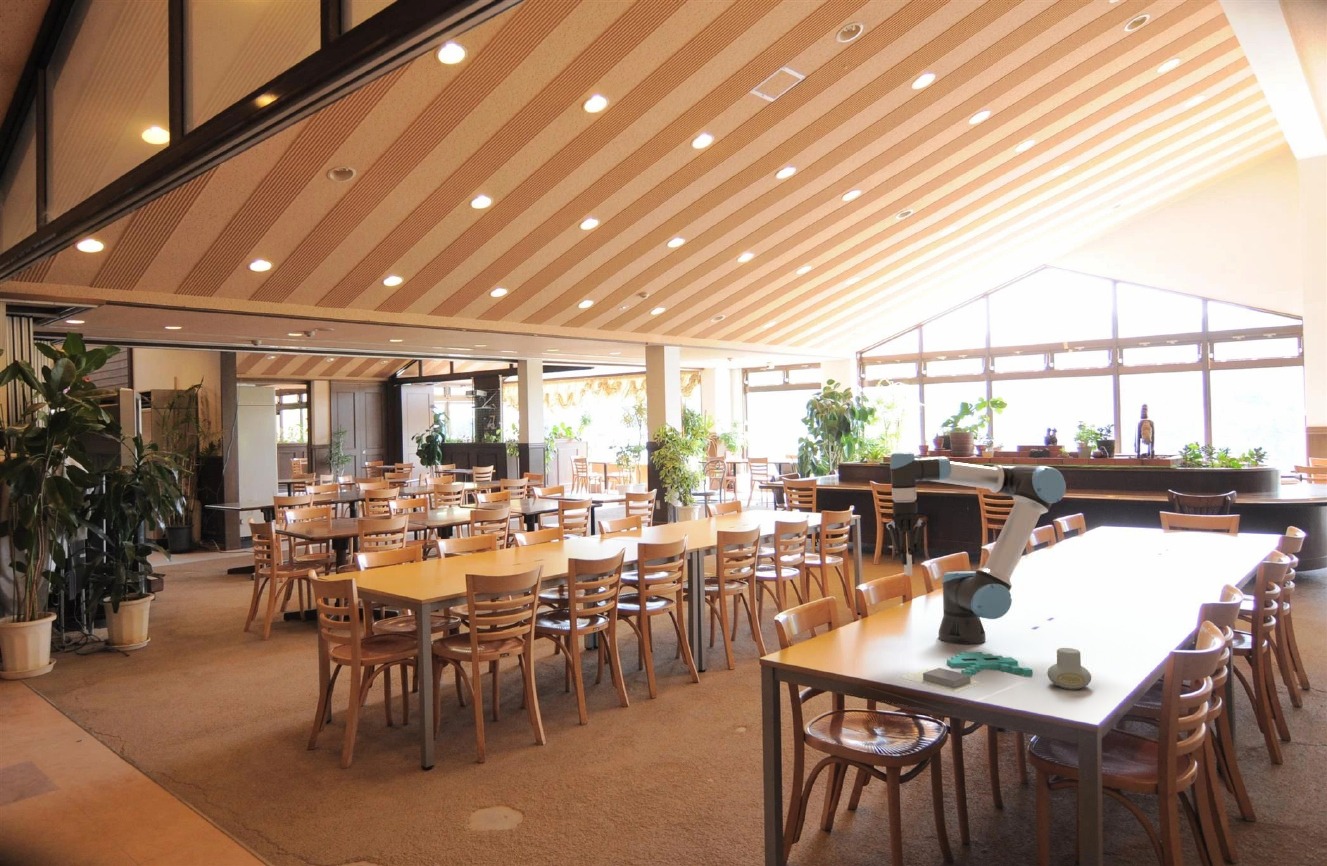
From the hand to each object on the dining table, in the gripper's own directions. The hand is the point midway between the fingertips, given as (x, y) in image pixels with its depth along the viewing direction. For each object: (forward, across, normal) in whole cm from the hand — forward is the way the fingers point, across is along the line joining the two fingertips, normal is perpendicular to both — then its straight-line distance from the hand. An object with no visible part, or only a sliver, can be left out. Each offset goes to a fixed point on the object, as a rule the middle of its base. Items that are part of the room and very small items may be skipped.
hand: (908, 574), depth 262 cm
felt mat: (+26, +4, +28) cm, 38 cm away
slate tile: (+24, +6, +25) cm, 35 cm away
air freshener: (+27, -28, +39) cm, 55 cm away
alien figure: (+27, -15, +17) cm, 35 cm away
